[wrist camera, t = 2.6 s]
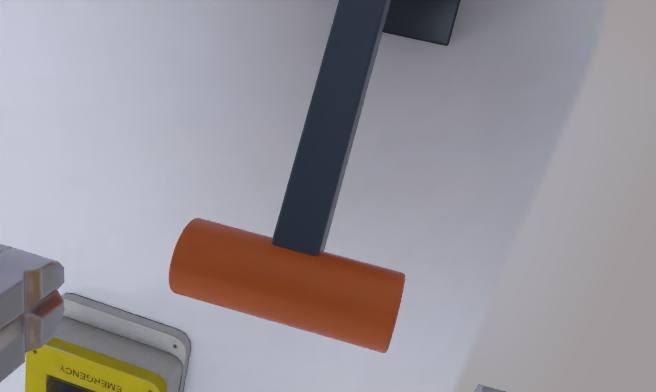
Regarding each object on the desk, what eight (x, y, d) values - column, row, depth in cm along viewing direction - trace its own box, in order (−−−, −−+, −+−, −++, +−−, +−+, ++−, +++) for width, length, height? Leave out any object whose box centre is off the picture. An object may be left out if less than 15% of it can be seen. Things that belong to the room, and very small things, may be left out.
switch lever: (384, 345, 13) (386, 362, 11) (192, 290, 14) (154, 295, 11) (506, -144, 15) (532, -225, 12) (328, -175, 15) (319, -257, 13)
